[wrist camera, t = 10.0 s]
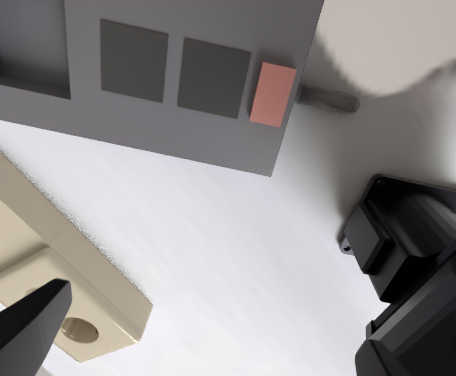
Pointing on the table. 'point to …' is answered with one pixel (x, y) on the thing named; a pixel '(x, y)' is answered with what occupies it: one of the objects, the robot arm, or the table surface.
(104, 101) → the power strip
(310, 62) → the table surface
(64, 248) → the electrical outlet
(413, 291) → the robot arm
